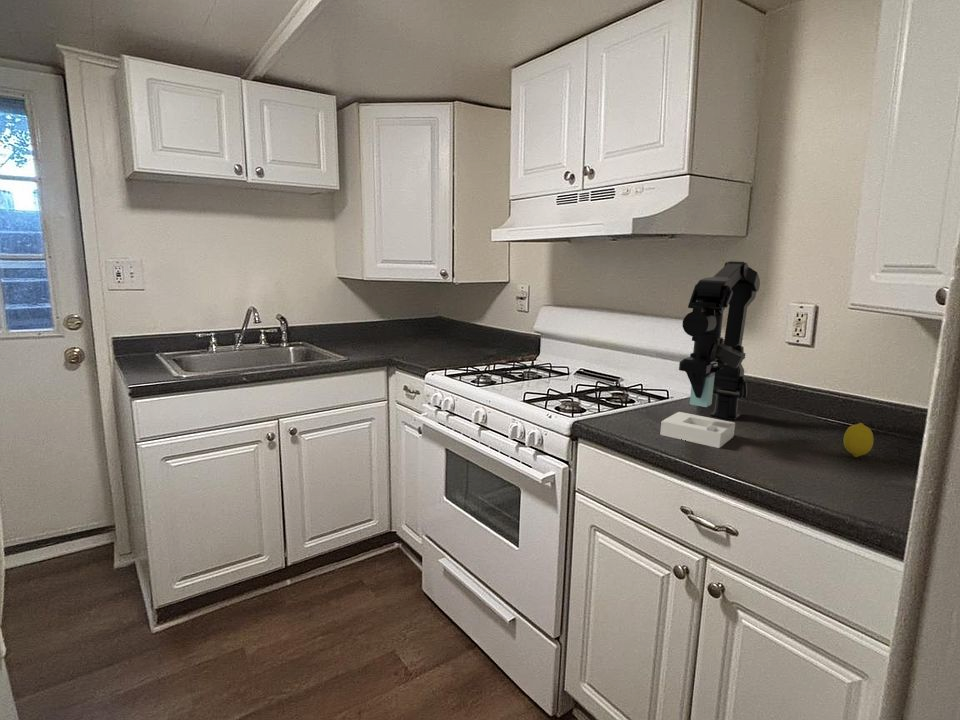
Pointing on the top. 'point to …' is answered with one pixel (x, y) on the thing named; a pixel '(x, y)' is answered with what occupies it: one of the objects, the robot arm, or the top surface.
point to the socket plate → (698, 429)
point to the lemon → (858, 439)
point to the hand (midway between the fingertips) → (701, 396)
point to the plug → (704, 393)
